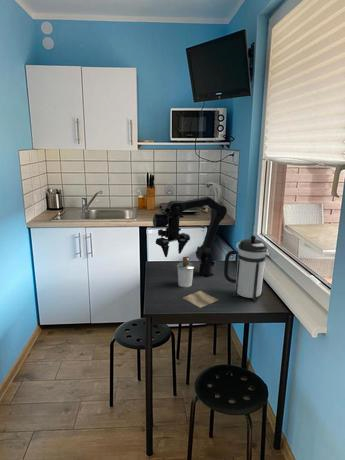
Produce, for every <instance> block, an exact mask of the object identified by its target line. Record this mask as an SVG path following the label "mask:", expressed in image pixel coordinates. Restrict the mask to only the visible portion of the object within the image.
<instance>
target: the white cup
mask: <svg viewBox="0 0 345 460" xmlns="http://www.w3.org/2000/svg"><path fill="white" fill-rule="evenodd" d="M193 276H194V269H191V270H181V269H179V268H177V280H178V281H177V283H178V284H177V285H178V286H179V287H181V288H190V287H191V286H192V285H193V278H194V277H193Z"/></svg>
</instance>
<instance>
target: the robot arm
mask: <svg viewBox="0 0 345 460" xmlns="http://www.w3.org/2000/svg"><path fill="white" fill-rule="evenodd" d="M206 206H207V207H208V208H209V209H211V210H210V221H209V225H208V228H207V230H206V234H205V236H204V238H203V239H204V240H203V242H202V245H200V246H197V249H196V251H195V252H194V253H195V257H196V259H197V260H198V262H199V263H200V264H199V268H198V269H199V272H197V275H198V276H202V277H204V278H207V277H208V278H209V277H211V276H214V273H213V272H212V270H213V267H214V265H215V262H214V260H212V258H211V257H212V246H213V243H214V240H215V237H216V235H217V232H218V229H219V226H220V223H221V222H222V221H223V220H224V219H225V216H226V215H227V212H228V209H227V207H226V206H224V205H223V204H220V203H218V202H217V201H215V200H214V199H213V197H210V196H204V197H200V198H199V197H198V198H193V199H189V200H169V202H168V203H167V205H166V208H165V209H164V210H163V212H162V213H154V215H153V219H152V225H153V228H161V229H158V230H157V235H158V238H156V239H155V244H156V245H158V246H159V247H160V248H161V250H162V252H163V256H164V258H168V253H169V248H170V245H169V244H170V243H172V242H175V241H177V243H178V247H177V248H178V249H177V250H178V254H181V253H182V251H183V249H184V248H185V246H186V245H187V243H188V242H189V241H190V240H191V236H190V234H188V233H185V232H182V233H180V232H181V231H182V229H181V227H180V218H184V217H185V216H184V215H183V214H182V213H183V212H185V211H187V210H189V209H190V210H191V209H196V208H200V207H206ZM163 228H165V230H163Z"/></svg>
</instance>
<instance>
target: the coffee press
mask: <svg viewBox="0 0 345 460" xmlns="http://www.w3.org/2000/svg"><path fill="white" fill-rule="evenodd" d="M237 247H238V250H230V251H228V252H227V253H226V255H225V258H224V267H223V269H224V270H223V275H224V278H225V279H226V280H227V281H228V282H230V283H232V284H234V285H235V291H234V293H233V294H232V296H233V297H236V298H237V297H238V296H241V297H244V298H248V299H251V301H252V302H253V303H257V302H258V301H257V298H258V297H260V296H262V295H263V291H262V289H263V288H262V287H263V282H264V281H263V280H264V270H265V263H266V262H265V261H266V258H267V257H268V256H270V254H269V250H268V247H267V245H266V243H265V242H264V241H262V240H260V239H257V238H256V235H254V234H252V235H251V236H250V238H245V239H242V240H241V241H240V242H239V243H238V245H237ZM233 255H237V265H236V266H237V267H236V268H237V269H236V275H235V276H236V277H235V278H232V277H231V276H230V275H229V265H230V258H231V256H233ZM266 256H267V257H266Z"/></svg>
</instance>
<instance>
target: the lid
mask: <svg viewBox="0 0 345 460" xmlns="http://www.w3.org/2000/svg"><path fill="white" fill-rule="evenodd" d="M176 268H177V269H178V268H179V269H181V270H191V269H193V270H194V269H195V268H196V265H195V263H192V262H190V257H189V256H183V257H182V262H179V263H177V264H176Z"/></svg>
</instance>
